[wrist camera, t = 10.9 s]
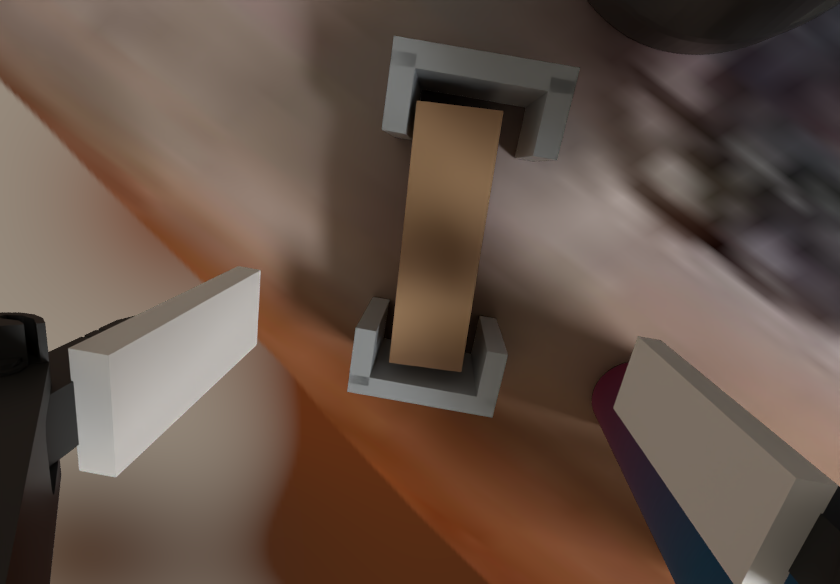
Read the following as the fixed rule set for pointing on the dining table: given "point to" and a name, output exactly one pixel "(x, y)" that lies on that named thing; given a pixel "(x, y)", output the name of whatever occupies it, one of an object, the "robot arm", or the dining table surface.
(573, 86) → the grey u-shaped bracket
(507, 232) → the dining table surface
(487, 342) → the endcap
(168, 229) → the dining table surface
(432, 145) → the slat
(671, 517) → the cup
